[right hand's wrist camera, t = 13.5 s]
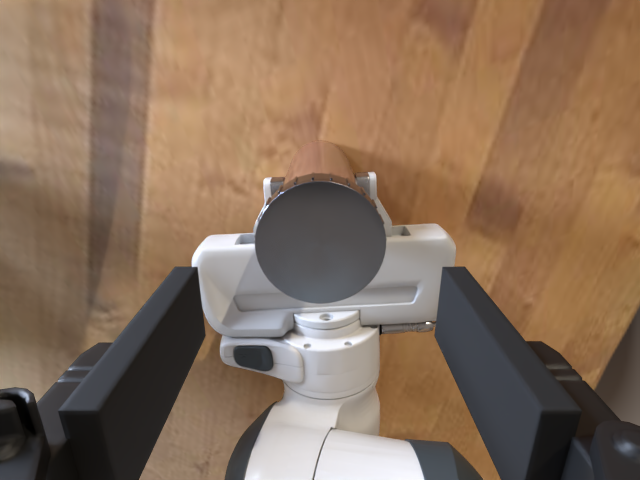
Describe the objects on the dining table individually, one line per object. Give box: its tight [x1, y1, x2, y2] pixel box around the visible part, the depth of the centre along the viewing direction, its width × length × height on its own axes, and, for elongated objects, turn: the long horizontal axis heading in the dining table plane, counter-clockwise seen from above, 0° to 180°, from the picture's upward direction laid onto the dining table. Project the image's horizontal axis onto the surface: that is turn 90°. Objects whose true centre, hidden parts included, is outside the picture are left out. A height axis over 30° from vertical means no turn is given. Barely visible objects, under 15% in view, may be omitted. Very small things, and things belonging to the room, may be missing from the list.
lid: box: [254, 172, 387, 304], centre depth 20 cm, size 6×6×2 cm
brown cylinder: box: [282, 141, 359, 186], centre depth 28 cm, size 5×5×18 cm
